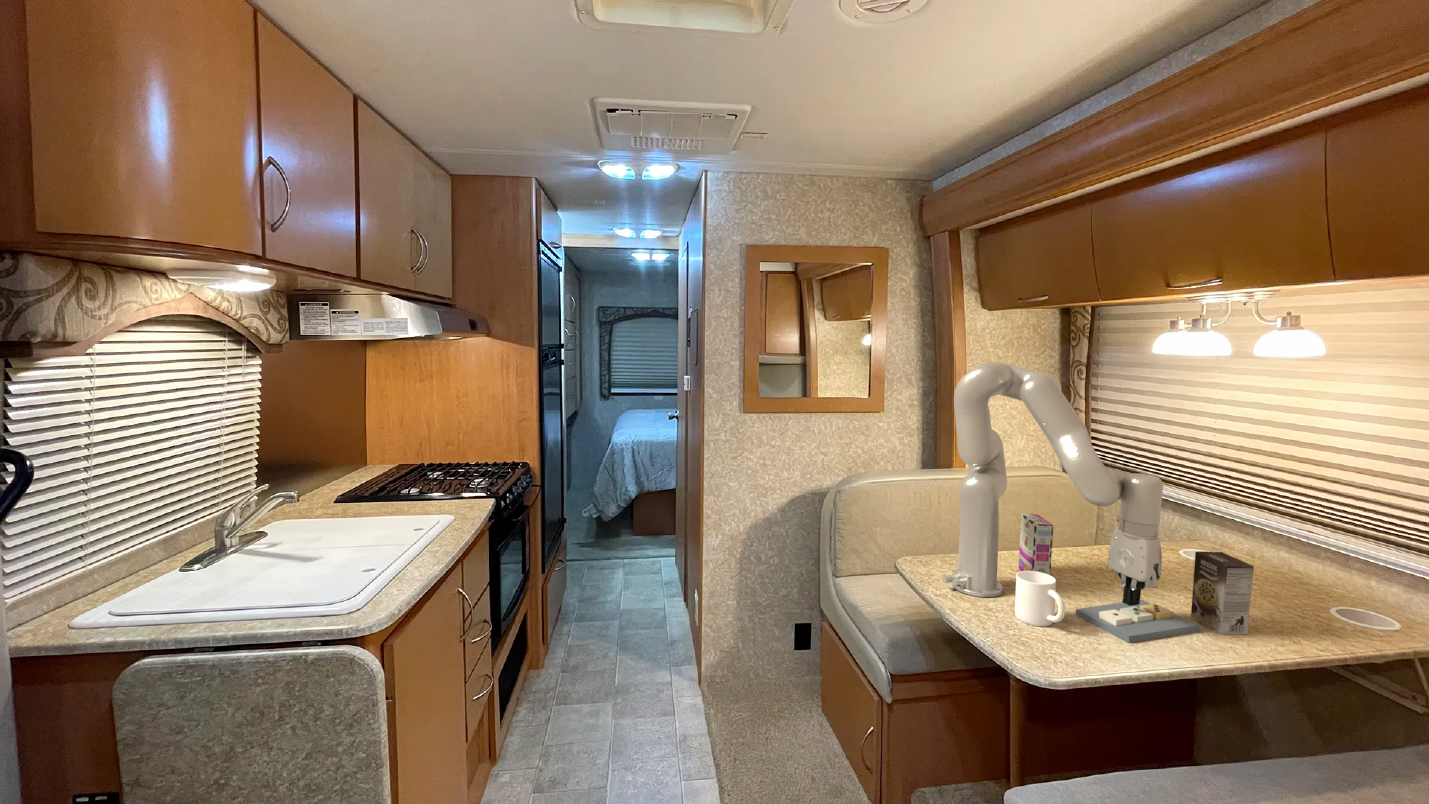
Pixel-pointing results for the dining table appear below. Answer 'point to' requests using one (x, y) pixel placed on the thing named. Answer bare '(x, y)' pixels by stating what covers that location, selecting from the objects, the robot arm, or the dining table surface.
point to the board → (1138, 624)
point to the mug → (1037, 599)
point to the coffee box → (1222, 592)
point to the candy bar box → (1035, 544)
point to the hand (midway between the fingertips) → (1130, 603)
